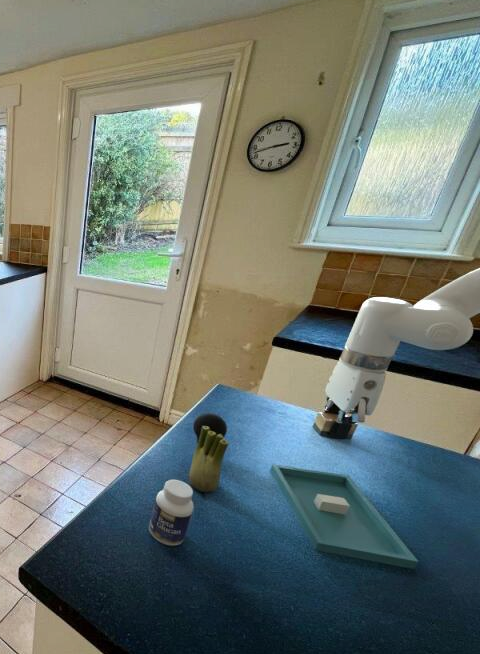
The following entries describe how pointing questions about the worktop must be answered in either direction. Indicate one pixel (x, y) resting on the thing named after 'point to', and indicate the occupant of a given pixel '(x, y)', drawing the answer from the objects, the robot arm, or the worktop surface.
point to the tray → (341, 517)
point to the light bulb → (210, 424)
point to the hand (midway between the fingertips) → (332, 431)
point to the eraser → (329, 424)
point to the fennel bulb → (207, 461)
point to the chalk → (331, 504)
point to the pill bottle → (172, 513)
